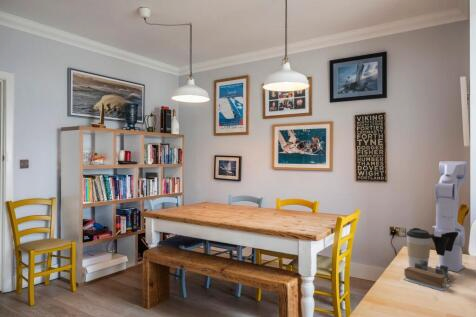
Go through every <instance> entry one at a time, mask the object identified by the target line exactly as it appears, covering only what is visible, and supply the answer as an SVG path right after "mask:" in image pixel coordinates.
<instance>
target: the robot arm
mask: <svg viewBox="0 0 476 317" xmlns="http://www.w3.org/2000/svg"><path fill="white" fill-rule="evenodd" d="M468 168H469V163H468V162H467V161H466V160H465V161H460V160H459V161H454V160H453V161H452V160H451V161H449V160H445V161H444V160H441V161H439V164H438V173H439V181H438V182H437V183H438V184H437V183H436V184H435V185H434V197H435V199H434V201H435V211H436V212H435V225H432V227H431V228H432V229H434V231H433V232H434V233H432V234H431V233H430V234H431V240H432V242H433V244H434V248H435V251H436V252H435V253H436V255H438V257H439V259H438V260H439V261H438V264H436V265H435V268H438V269H440V265H443V266H448V271H452V272H456V273H459V272H460V271H461V270H463V269H464V268H465V267H466V266H465V265H464V264H463V250H462V248H463V247H465V243H466V231H465V230H466V229H465V226H464V225H462V224H460V222H458V216H459V215H458V214H459V200H460V189H461V186H462V185H463V184H465V183H467V180H468V173H469V172H468Z"/></svg>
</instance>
